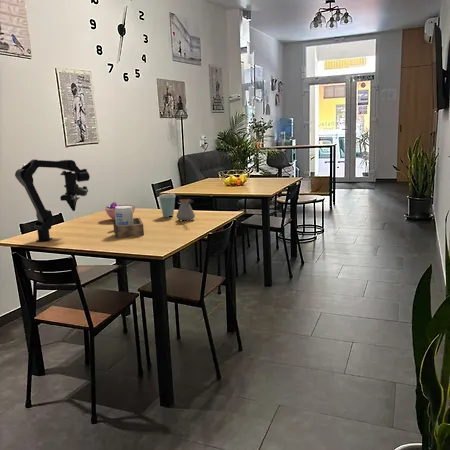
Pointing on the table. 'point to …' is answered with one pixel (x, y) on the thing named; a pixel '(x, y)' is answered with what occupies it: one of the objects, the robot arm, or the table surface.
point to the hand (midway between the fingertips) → (73, 210)
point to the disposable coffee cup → (167, 204)
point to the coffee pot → (185, 210)
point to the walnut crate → (129, 229)
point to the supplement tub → (124, 215)
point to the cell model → (111, 209)
